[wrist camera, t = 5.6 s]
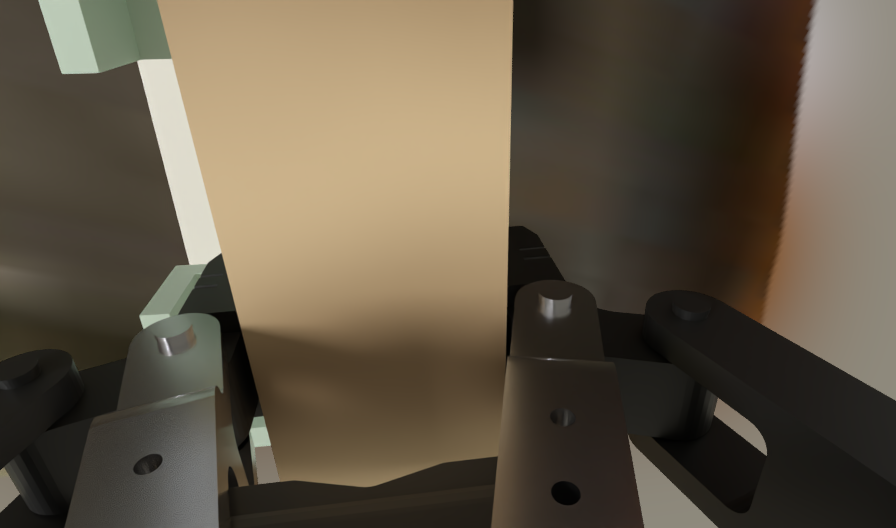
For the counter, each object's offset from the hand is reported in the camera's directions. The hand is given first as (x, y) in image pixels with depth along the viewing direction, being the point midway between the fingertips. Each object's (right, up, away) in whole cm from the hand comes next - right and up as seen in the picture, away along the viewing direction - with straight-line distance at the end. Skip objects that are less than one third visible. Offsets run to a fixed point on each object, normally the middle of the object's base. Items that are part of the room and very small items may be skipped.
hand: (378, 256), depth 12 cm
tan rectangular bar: (0, 0, 0) cm, 0 cm away
